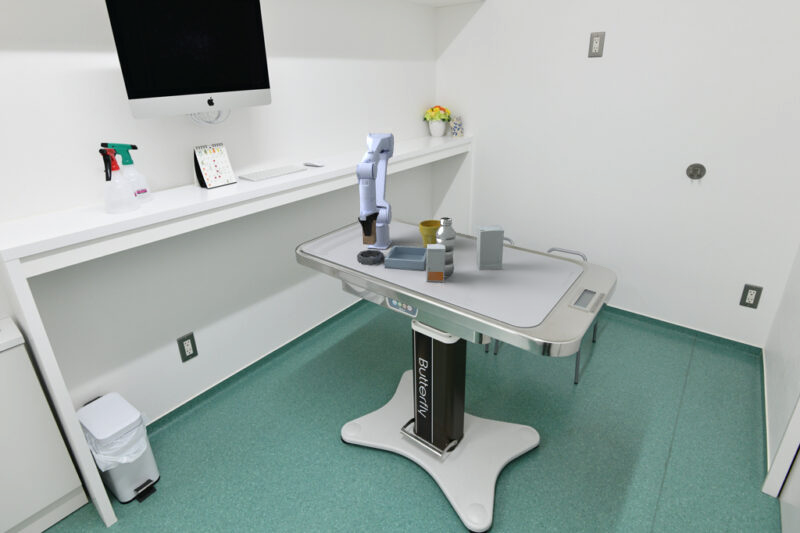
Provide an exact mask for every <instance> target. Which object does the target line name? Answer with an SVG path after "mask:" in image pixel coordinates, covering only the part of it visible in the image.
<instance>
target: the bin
mask: <svg viewBox="0 0 800 533" xmlns="http://www.w3.org/2000/svg"><path fill="white" fill-rule="evenodd" d="M425 268H427V248H425V247H424V246H423V247H422V246H421V247H420V246H407V245H405V246H403V245H393V246H392V248H391V249H390V251H389V252H388V253H387V255H386V256H385V257H384V269H390V270H391V269H393V270H404V271H405V270H406V271H418V272H424V270H425Z"/></svg>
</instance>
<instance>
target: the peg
mask: <svg viewBox="0 0 800 533" xmlns="http://www.w3.org/2000/svg"><path fill="white" fill-rule="evenodd" d="M361 228H362V227H361ZM361 232H362V245H374V244H375V243H376V242H377V237H376V221H375V220H374V221H373V224H372V231H371V236H365V235H364V232H363V228H362V230H361Z"/></svg>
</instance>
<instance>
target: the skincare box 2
mask: <svg viewBox="0 0 800 533" xmlns="http://www.w3.org/2000/svg"><path fill="white" fill-rule="evenodd" d="M504 233H505V230H504V228H503V227H502V226H501V225H500V224H492V225H491V224H490V225H477V233H476V234H477V235H476V236H477V237H476V265H477V267H478V268H477V269H478V270H479V271H485V270H486V271H487V270H488V271H489V270H502V269H503V255H504V254H503V251H504Z"/></svg>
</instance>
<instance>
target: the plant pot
mask: <svg viewBox="0 0 800 533" xmlns="http://www.w3.org/2000/svg"><path fill="white" fill-rule="evenodd" d="M440 226H441V224H440V220H439V219H427V220H422V221H421V222H419V224H418V228H419V229H418V230H419V233H420V234H421V238H422V245H423V248H427V244H437V241H436V232H437V230H438V229H439V227H440Z"/></svg>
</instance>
